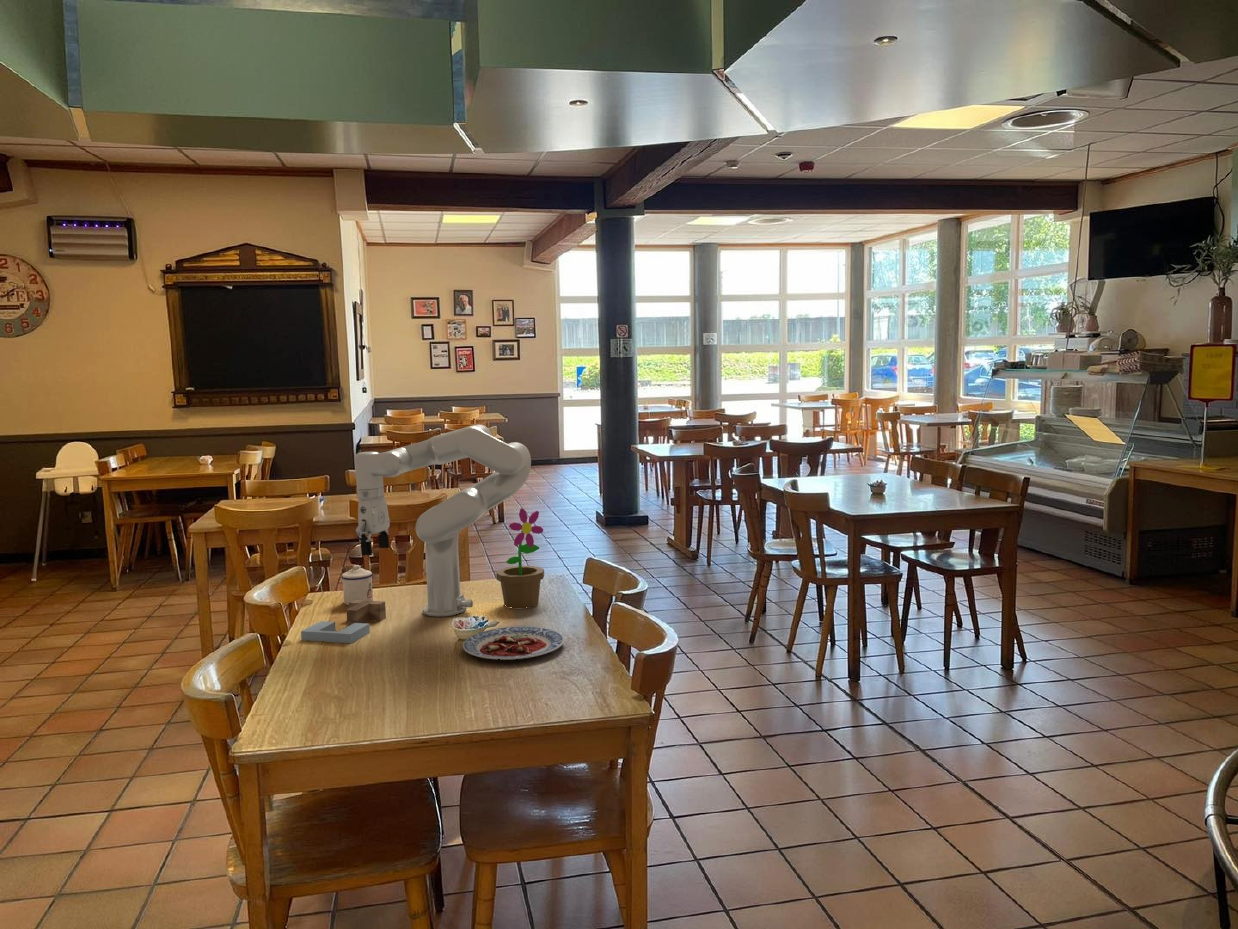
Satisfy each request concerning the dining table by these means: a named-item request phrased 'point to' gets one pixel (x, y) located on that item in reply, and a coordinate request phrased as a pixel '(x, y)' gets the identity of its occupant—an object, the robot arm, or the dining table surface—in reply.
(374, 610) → the t block
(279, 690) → the dining table surface
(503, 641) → the ceramic plate
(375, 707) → the dining table surface
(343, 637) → the dock
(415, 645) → the dining table surface
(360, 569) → the teacup with lid
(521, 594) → the flowerpot
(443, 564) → the robot arm
